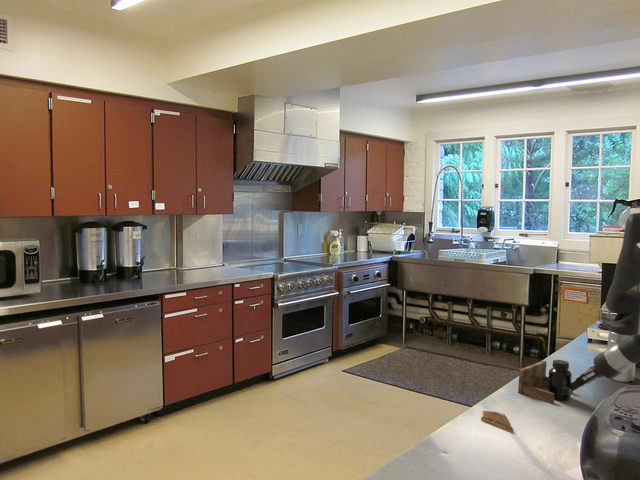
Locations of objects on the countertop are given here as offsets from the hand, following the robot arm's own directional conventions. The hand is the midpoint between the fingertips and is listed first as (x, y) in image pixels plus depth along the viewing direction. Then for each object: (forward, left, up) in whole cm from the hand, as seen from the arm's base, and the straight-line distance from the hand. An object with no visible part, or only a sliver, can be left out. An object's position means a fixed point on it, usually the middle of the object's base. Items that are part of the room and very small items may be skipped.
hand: (571, 387), depth 163 cm
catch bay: (0, -8, -4) cm, 9 cm away
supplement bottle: (0, -4, -5) cm, 6 cm away
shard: (+33, -5, -5) cm, 33 cm away
